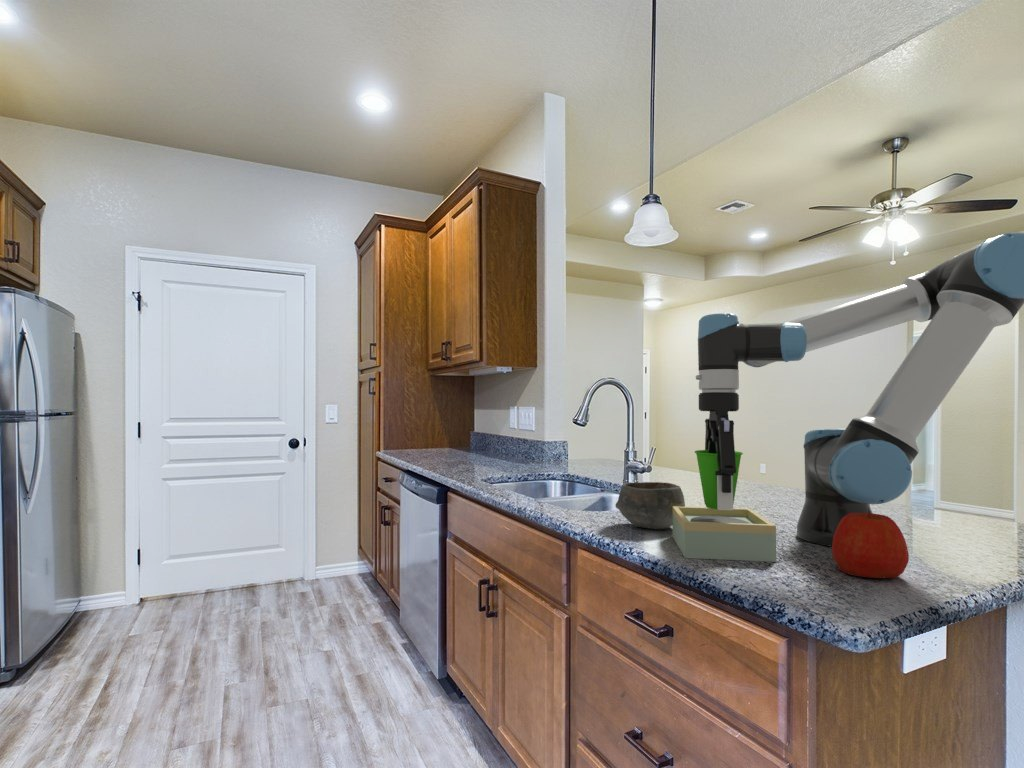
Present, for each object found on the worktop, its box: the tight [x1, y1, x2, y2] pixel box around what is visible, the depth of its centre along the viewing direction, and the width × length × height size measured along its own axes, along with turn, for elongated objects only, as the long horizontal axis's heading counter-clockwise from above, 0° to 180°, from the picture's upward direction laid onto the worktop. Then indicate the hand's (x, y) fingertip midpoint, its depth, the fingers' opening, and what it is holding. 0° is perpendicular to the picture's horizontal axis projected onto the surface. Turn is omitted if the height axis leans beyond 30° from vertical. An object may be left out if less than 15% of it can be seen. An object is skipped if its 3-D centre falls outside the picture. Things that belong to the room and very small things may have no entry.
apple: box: [831, 511, 910, 579], centre depth 90 cm, size 11×11×11 cm
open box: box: [672, 506, 777, 563], centre depth 106 cm, size 16×16×6 cm
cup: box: [694, 449, 744, 510], centre depth 107 cm, size 9×9×11 cm
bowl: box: [614, 481, 686, 530], centre depth 124 cm, size 14×15×10 cm
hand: (719, 504), depth 106 cm, fingers closed on cup, 9 cm apart
